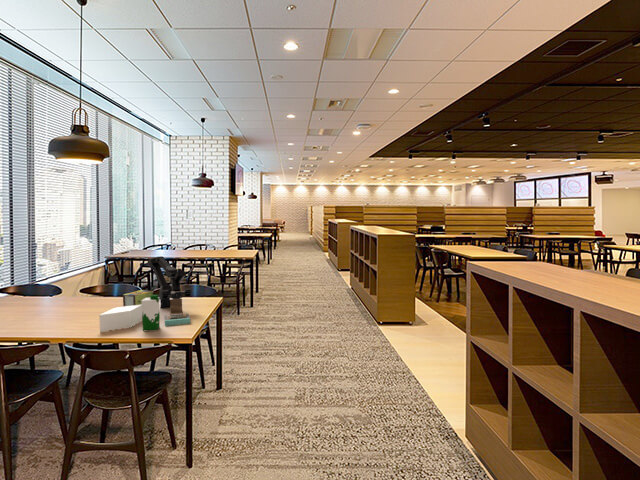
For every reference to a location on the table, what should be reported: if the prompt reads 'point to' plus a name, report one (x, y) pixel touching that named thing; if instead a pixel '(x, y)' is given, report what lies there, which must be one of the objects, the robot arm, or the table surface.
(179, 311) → the wooden drawer
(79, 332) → the table surface
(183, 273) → the robot arm
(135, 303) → the protein box
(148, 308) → the milk carton
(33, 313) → the table surface
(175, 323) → the bay
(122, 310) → the white block
